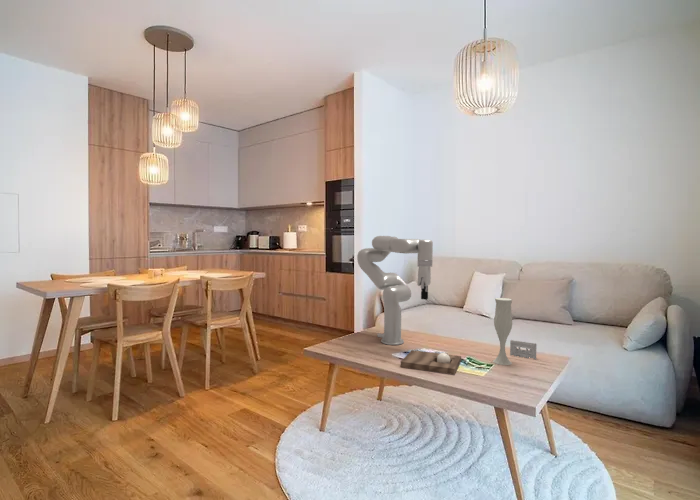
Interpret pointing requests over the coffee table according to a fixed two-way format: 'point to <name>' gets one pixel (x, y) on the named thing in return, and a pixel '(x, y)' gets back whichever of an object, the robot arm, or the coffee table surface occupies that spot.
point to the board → (430, 362)
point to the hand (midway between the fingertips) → (424, 299)
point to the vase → (503, 327)
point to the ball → (443, 358)
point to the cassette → (523, 353)
